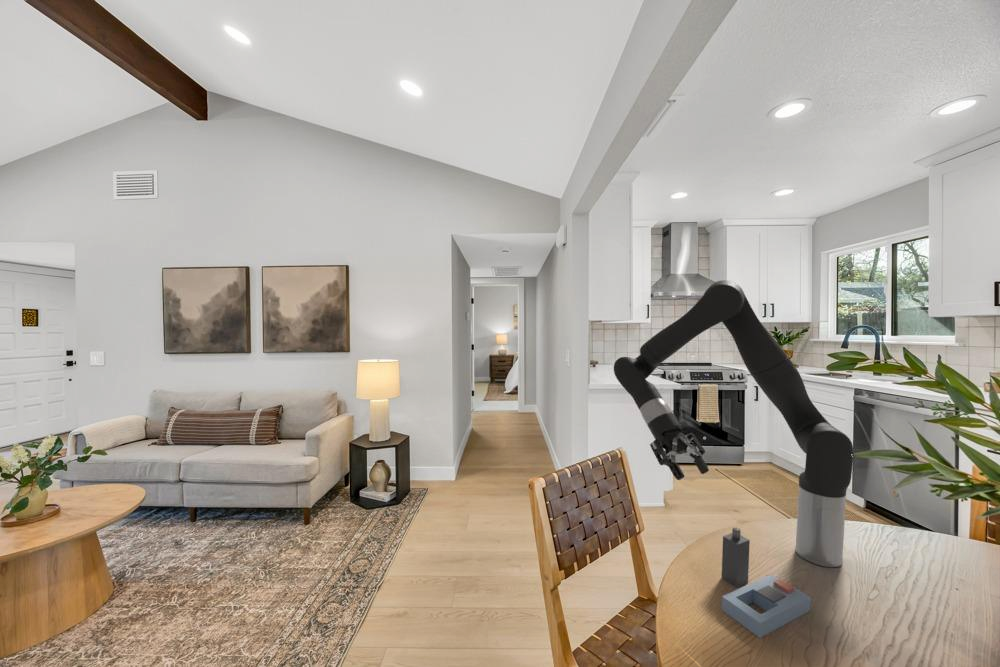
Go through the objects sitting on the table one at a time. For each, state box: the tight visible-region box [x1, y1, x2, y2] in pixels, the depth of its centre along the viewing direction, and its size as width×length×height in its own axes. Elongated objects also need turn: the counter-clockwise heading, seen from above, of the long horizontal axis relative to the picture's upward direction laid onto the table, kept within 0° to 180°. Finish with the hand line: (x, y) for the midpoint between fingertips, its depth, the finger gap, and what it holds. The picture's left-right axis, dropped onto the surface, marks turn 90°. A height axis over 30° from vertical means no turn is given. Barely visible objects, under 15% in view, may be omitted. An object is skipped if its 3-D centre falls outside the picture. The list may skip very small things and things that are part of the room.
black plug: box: [721, 527, 751, 588], centre depth 95 cm, size 4×4×12 cm
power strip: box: [721, 573, 812, 639], centre depth 86 cm, size 16×8×4 cm, turn 115°
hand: (693, 475), depth 104 cm, fingers open, 8 cm apart
